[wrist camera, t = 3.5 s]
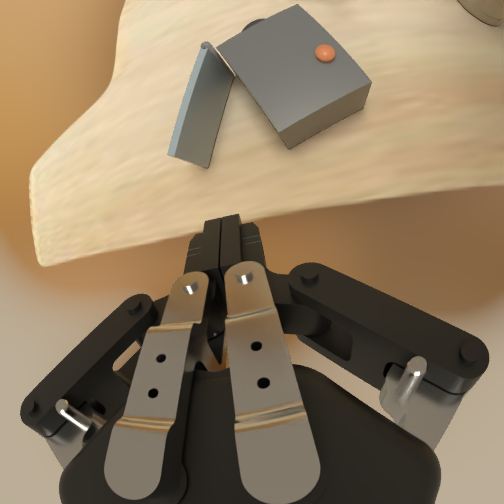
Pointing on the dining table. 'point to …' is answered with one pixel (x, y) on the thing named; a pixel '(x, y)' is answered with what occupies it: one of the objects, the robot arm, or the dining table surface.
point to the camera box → (296, 73)
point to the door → (201, 108)
